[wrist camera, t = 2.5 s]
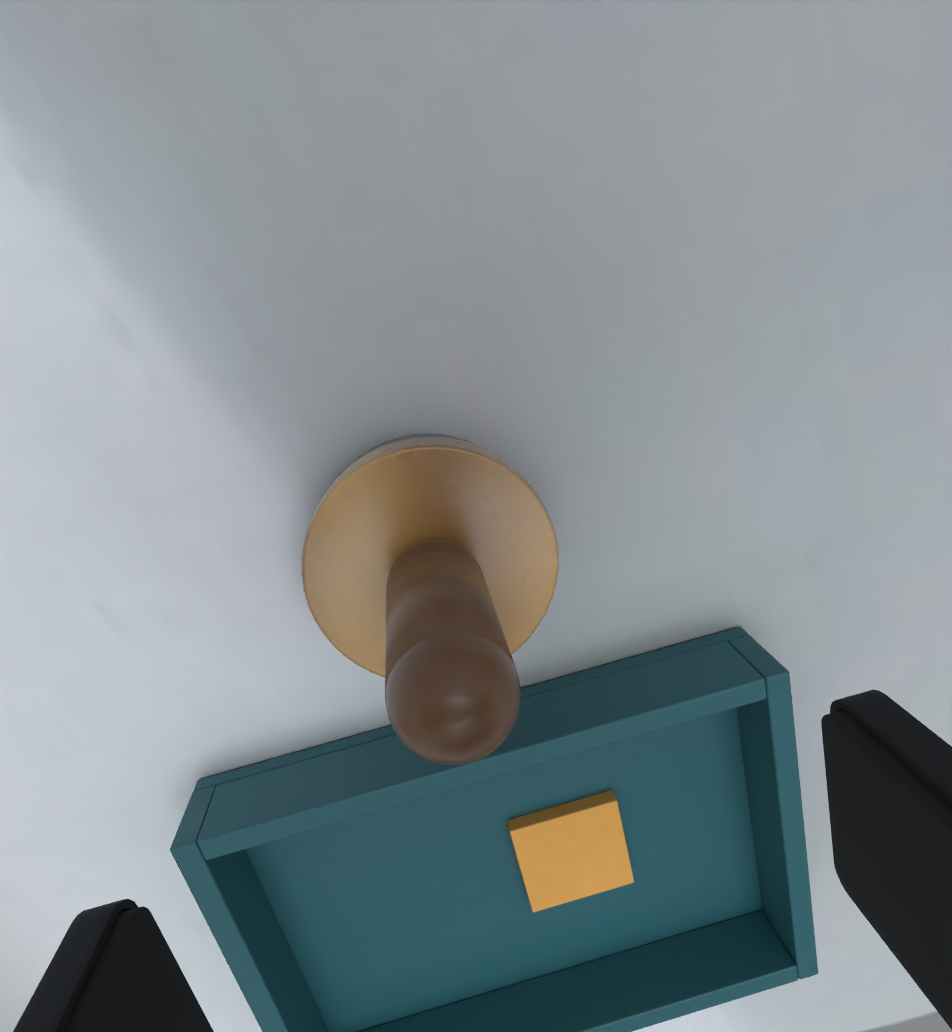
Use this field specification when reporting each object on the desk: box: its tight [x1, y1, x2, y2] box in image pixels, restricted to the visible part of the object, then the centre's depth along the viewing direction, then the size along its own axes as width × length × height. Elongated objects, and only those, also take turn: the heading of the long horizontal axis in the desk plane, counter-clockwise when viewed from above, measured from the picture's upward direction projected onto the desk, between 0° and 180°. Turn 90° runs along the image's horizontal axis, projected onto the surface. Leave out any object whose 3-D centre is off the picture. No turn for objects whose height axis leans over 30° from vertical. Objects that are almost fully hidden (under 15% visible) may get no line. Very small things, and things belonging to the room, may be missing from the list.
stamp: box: [302, 434, 558, 765], centre depth 16 cm, size 7×7×10 cm
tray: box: [170, 627, 818, 1032], centre depth 24 cm, size 20×14×3 cm
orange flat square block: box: [507, 790, 634, 912], centre depth 25 cm, size 4×4×1 cm
